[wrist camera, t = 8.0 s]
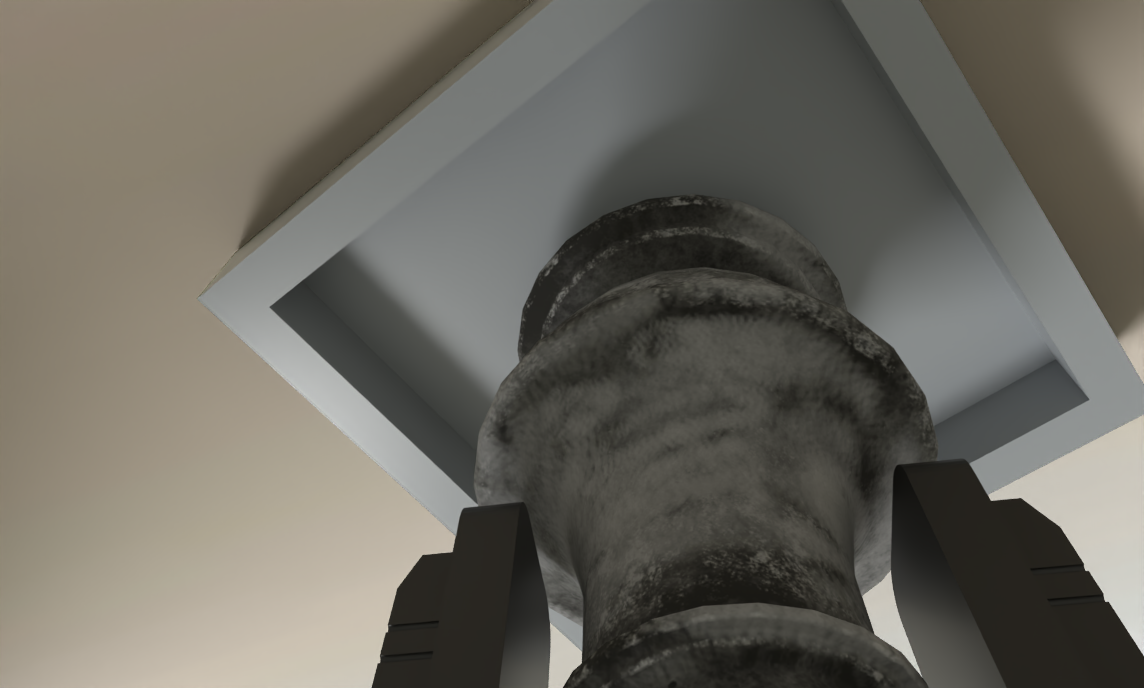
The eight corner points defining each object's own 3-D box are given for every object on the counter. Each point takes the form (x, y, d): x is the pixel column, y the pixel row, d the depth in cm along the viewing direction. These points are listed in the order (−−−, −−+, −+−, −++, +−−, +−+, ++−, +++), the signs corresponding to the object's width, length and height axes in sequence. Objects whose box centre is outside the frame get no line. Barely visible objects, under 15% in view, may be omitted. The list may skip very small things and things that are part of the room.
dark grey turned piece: (701, 90, 13) (1117, 1249, 3) (941, 355, 15) (1733, 1615, 4) (424, 344, 15) (26, 1537, 5) (667, 546, 17) (769, 1699, 7)
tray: (616, 617, 20) (618, 685, 19) (235, 252, 16) (197, 298, 15) (1105, 352, 17) (1156, 407, 15) (775, -205, 13) (799, -206, 11)
